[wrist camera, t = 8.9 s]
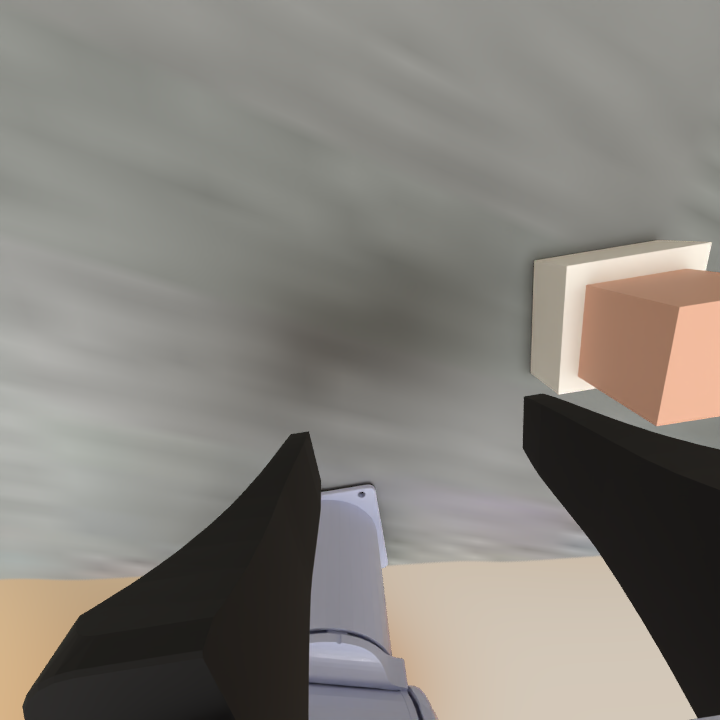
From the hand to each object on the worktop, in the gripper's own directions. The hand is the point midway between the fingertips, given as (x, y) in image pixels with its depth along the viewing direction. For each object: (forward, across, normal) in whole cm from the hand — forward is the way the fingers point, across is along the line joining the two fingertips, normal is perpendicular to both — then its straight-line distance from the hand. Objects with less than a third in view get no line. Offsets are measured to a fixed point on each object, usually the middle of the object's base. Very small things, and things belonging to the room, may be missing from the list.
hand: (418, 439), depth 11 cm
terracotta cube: (+7, -12, 0) cm, 14 cm away
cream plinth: (+10, -12, 0) cm, 16 cm away
